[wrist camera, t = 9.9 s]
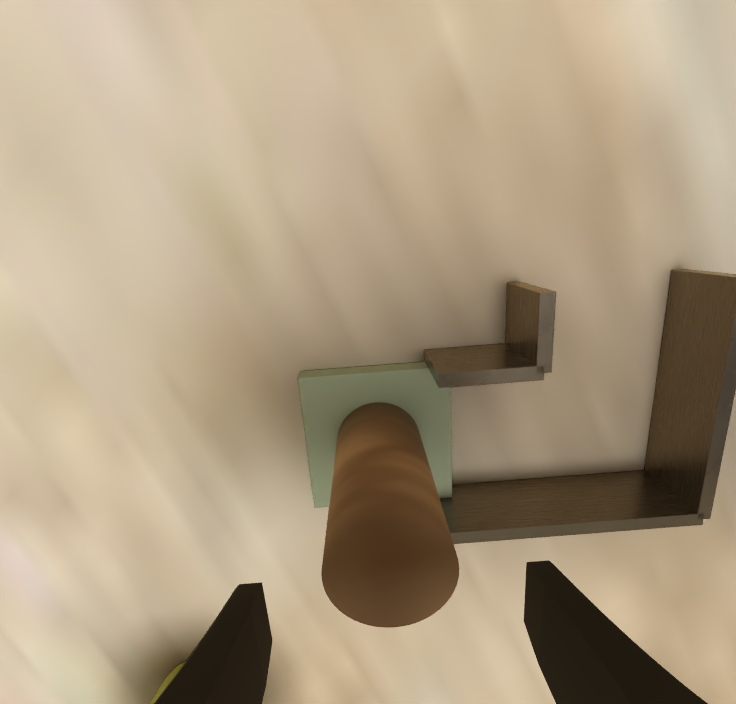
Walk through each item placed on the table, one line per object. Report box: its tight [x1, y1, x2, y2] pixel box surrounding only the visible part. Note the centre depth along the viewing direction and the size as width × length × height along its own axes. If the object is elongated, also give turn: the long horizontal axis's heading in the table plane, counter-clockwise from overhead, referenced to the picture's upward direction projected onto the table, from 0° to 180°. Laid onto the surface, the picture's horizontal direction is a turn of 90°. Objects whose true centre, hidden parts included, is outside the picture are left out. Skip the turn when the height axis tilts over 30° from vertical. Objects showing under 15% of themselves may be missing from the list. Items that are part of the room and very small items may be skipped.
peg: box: [322, 402, 459, 627], centre depth 16 cm, size 4×4×8 cm
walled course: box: [424, 269, 736, 544], centre depth 18 cm, size 12×11×4 cm
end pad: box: [298, 362, 452, 508], centre depth 20 cm, size 7×7×1 cm
